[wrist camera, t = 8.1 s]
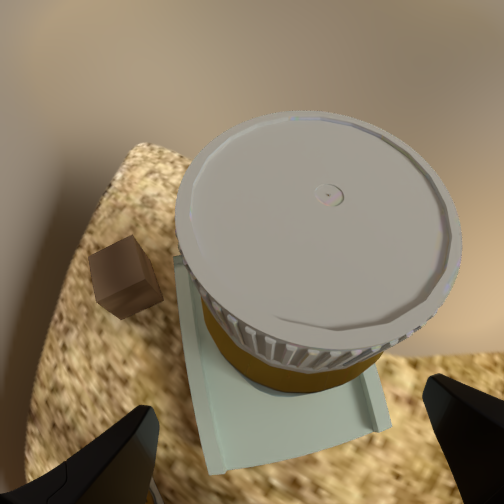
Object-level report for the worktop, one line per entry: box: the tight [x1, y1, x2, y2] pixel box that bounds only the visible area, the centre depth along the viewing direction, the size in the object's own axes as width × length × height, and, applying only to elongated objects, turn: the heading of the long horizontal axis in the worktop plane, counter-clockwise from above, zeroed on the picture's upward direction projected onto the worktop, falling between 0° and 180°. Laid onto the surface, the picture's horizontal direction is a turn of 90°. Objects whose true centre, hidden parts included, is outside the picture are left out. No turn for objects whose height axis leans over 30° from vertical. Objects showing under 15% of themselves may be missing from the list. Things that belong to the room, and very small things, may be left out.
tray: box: [173, 255, 392, 475], centre depth 19 cm, size 12×16×4 cm
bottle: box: [175, 111, 462, 397], centre depth 12 cm, size 7×7×15 cm
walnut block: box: [88, 235, 164, 320], centre depth 22 cm, size 4×4×4 cm
